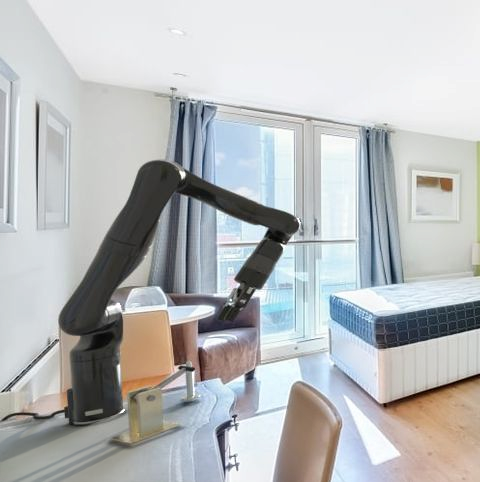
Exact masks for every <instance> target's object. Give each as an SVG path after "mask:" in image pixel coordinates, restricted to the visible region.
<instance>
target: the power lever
mask: <svg viewBox="0 0 480 482" xmlns="http://www.w3.org/2000/svg"><path fill="white" fill-rule="evenodd" d="M177 370H178V371H176V372H175V373H173V374H171V375H170V376H169V377H167V378H165V379H164V380H163V381H161V382H160V383H158V384H157V385H156V386H154V387H152V389H155V388H161V390H162V389H163V388H165V387H167V386H168V385H169V384H171V383H172V382H174V381H175V380H177V379H178V378H180V377H181V376H183V375H184V374H185V373H186V372H187V371H190V372H193V373H194V372H195V371H196V367H194V366H192V367H189V366H186V365H179V366H178V367H177ZM152 389H151V390H152ZM145 391H149V389H145V390H143V391H142V392H145ZM142 392H140V393H142ZM133 398H134V399H135V400H136V402H137V395H136V396H134V397H133Z"/></svg>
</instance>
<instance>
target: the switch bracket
mask: <svg viewBox="0 0 480 482" xmlns="http://www.w3.org/2000/svg"><path fill="white" fill-rule="evenodd" d="M152 388H153V386H152V385H146V386H144V387H140V388H136V389H133V390H129V391H127V392H126V400H127V401H126V402H127V415H128V416H127V418H128V431H127V432H124V433H121V434H118V435H116V436H113V437H110V440H111V441H116V442H118V443H123V444H127V445H134V444H135V443H138V442H141V441H144V440H147V439H149V438H151V437H154V436H157V435H160V434H162V433H165V432H168V431H171V430H172V429H175V428H178V427H180V426H182V424H180V423H176V422H172V421H167V420H164V409H163V392H162V391H163V390H162V389H161V388H155V389H152ZM145 389H149V391H145V392H142V391H143V390H145ZM151 389H152V390H151ZM140 392H142V393H140ZM136 395H137V402H136V400H135V399H134V398H133V397H134V396H136Z"/></svg>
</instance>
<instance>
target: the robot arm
mask: <svg viewBox="0 0 480 482" xmlns="http://www.w3.org/2000/svg"><path fill="white" fill-rule="evenodd" d="M175 194H176V195H177V194H178V195H180V196H184V197H187V198H190V199H194V200H196V201H199V202H201V203H203V204H206V205H207V206H209V207H212V208H214V209H215V210H217V211H219V212H221V213H223V214H225V215H228V216H229V217H232V218H234V219H236V220H238V221H242V222H244V223H246V224H249V225H252V226H261V227H264V228H267V230H266V231H265V233H264V235H263V238H262V239H261V240H260V241H259V242H258V244H257V245H256V247H255V248H254V250H253V251H252V252H251V254H250V255H249V256H248V258H247V259H246V260H245V262H244V263H243V264H242V266H241V267H240V269H239V270H238V272H237V273H236V275H235V276H234V278H233V280H234V282H235V283H238V284H239V286H238V287H234V288H233V289H232V291H231V292H230V294H229V295H228V296H227V298H226V299H225V301H224V302H223V304H222V306H223V308H222V310H221V311H220V313H219V314H218V316H217V317H216V320H217V321H219V322H223V323H225V322H229V323H233V322H234V321H235V319H236V318H237V316H238V315H239V313H240V312H241V311H242V310H243V309H245V308H246V307H247V305H248V304H249V302H250V300H251V299H252V297H253V295H254V293H255V292H256V291H257V290H258V291H260V290H262V289H263V288H264V286H265V284H266V283H267V281H268V279H269V278H270V277H271V275H272V273H273V272H274V270H275V268H276V266H277V264H278V262H279V260H280V259H281V257H282V256H283V254H284V253H285V248H286V246H287V245H288V244H289V241H291V239H292V238H293V236H294V235H296V233H297V232H299V230H300V228H301V222H300V220H299V218H298V217H297V216H296V215H294V214H292V213H290V212H287V211H285V210H281V209H278V208H275V207H271V206H267V205H264V204H262V203H260V202H257V201H256V200H253V199H251V198H248V197H246V196H244V195H241V194H238V193H236V192H233V191H231V190H228V189H226V188H223V187H221V186H219V185H216V184H214V183H213V182H210V181H209V180H205V179H204V178H202V177H200V176H198V175H196V174H195V173H193V172H191V171H189V170H188V169H187V168H185V167H183V166H181V165H180V164H179V163H177V162H175V161H173V160H170V159H164V158H160V159H151V160H149V161H148V160H147V161H145V163H143V164H142V165H141V166H140V167H139V169H137V173H136V175H135V178H134V182H133V185H132V188H131V190H130V193H129V196H128V198H127V200H126V202H125V204H124V206H123V207H122V209H120V211H119V213H118V214H117V215H116V217H115V218H114V220H113V221H112V223H111V225H110V226H109V228H108V230H107V231H106V234H105V235H104V237H103V239H102V241H101V243H100V245H99V247H98V249H97V251H96V253H95V255H94V257H93V259H92V260H91V263H90V265H88V268H87V270H86V272H85V274H84V276H83V278H82V280H81V281H80V283H79V284H78V285H77V287H76V289H75V290H74V291H73V293H72V294H71V296H70V297H69V298H68V300H66V303H65V304H64V306H63V307H62V308H61V310H60V312H59V314H58V318H57V322H58V327H59V329H60V330H61V331H62V332H63V333H64V334H66V335H67V336H73V337H79V338H78V341H77V343H76V344H75V345H74V346H73V347H71V349H70V350H69V353H68V361H69V371H70V373H69V374H70V387H69V388H68V389H67V390H66V403H67V404H66V406H64V407H63V409H60V410H56V411H54V412H52V413H51V414H49V415H41V416H40V414H39V413H38V412H27V411H26V412H25V411H19V412H13V413H9V414H7V415H6V416H4V417H2V419H0V421H1V422H4V421H7V420H8V419H10V418H12V417H18V416H27V417H28V416H29V417H32V419H33V420H49V419H52V418H54V417H55V416H56V415H59V414H64V419H68V425H73V426H86V425H93V424H96V423H100V422H102V421H105V420H108V419H112V418H114V417H118V416H120V415H123V414H124V413H125V408H124V407H125V406H124V395H123V379H122V378H123V377H122V376H123V375H122V363H121V362H122V361H121V346H122V343H123V341H124V312H123V308H122V306H121V305H120V303H119V302H118V301H117V300H115V299H113V298H112V297H113V296H114V294H115V293H116V291H117V289H119V287H120V286H121V285H122V284H123V283H124V282H125V281H126V280H127V279H128V278H129V277H130V276H131V275H132V274H133V273H134V272H135V271H136V270H137V269H138V267H140V266H141V264H142V263H143V262H144V260H145V259H146V257H147V255H148V253H149V252H150V249H151V247H152V245H153V243H154V241H155V238H156V235H157V232H158V229H159V224H160V220H161V217H162V214H163V212H164V210H165V208H166V207H167V205H168V203H169V202H170V200H171V199H172V197H173V196H174V195H175Z"/></svg>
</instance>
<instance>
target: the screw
mask: <svg viewBox="0 0 480 482" xmlns="http://www.w3.org/2000/svg"><path fill="white" fill-rule="evenodd" d="M185 366H189V367H193V363H192V361H190V360H187V361H186V362H185ZM184 374H185V378H184V379H185V386H186V387H185V391H186V394H185V395H182V396H181V397H180V398H179V401H180V402H184V403H186V404H187V403H193V402H195V401H197V400H198V399H199V398H201V397H202V394H201V393H200V392H195V386H194V385H195V382H194V381H195V380H194V371H193V372H190V371H187V372H185V373H184Z"/></svg>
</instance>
